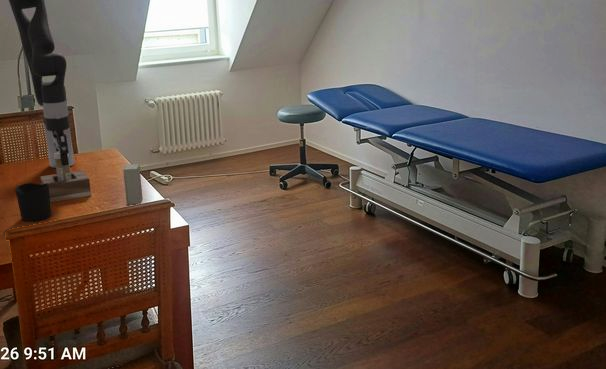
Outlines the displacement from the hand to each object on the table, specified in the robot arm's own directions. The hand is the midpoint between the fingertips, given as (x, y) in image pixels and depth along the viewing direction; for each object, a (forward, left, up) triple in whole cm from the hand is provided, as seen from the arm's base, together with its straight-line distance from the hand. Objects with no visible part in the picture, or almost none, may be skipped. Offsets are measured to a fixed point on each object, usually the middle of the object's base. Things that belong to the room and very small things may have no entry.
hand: (63, 162), depth 214 cm
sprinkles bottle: (0, 0, -10) cm, 10 cm away
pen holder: (+19, -12, -12) cm, 25 cm away
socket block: (0, 0, -11) cm, 11 cm away
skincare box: (+21, +18, -12) cm, 30 cm away
